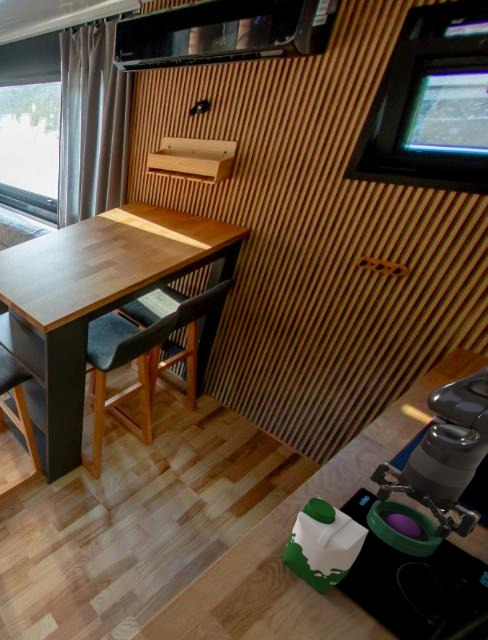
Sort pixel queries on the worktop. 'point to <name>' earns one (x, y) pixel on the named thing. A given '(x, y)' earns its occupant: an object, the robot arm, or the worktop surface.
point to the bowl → (397, 540)
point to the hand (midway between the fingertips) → (408, 516)
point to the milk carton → (323, 545)
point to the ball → (403, 525)
